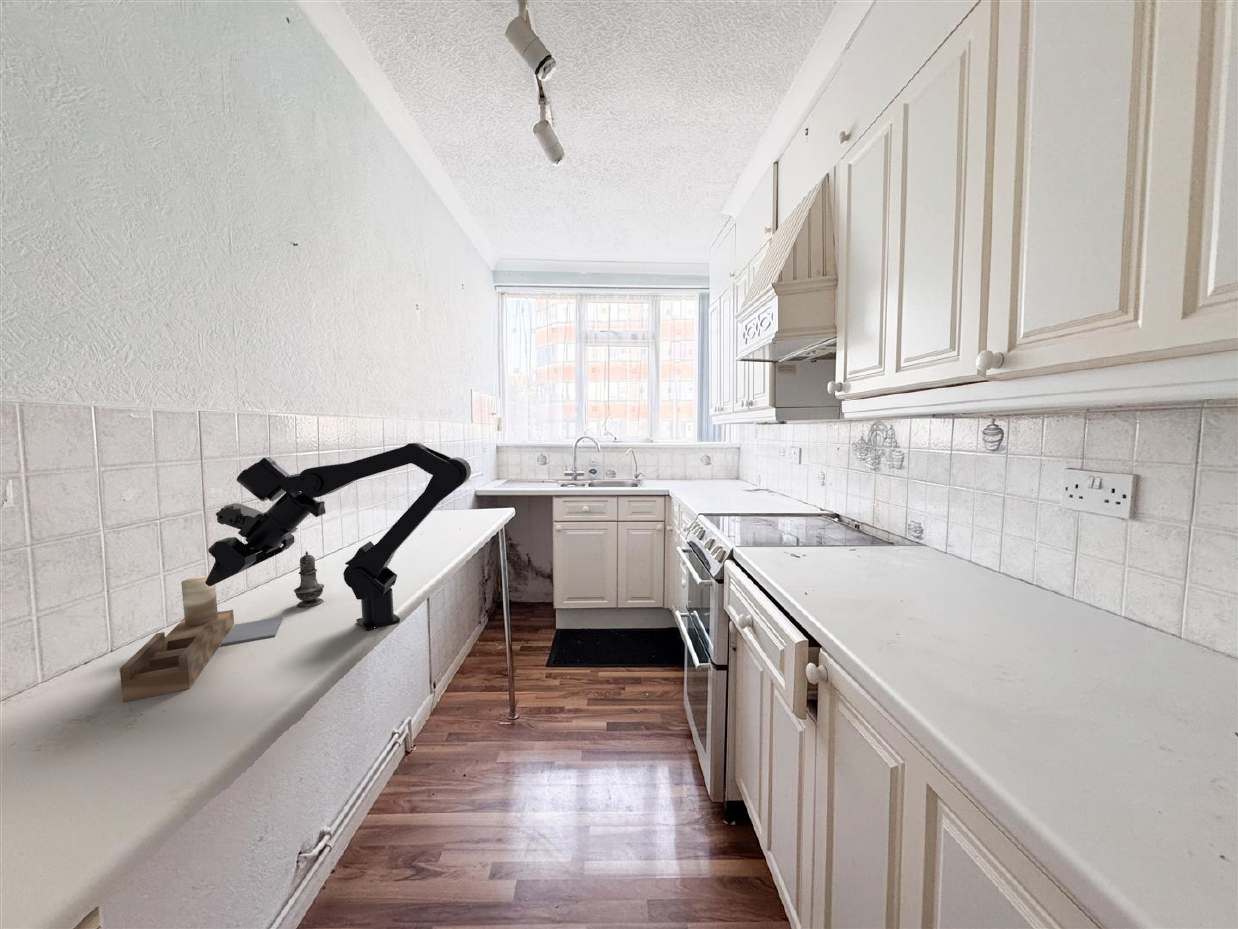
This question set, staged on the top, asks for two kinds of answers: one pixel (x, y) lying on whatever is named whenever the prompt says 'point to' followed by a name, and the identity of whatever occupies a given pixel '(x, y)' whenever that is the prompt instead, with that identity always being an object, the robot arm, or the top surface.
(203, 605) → the birch cylinder
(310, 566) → the salt shaker
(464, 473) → the robot arm
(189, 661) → the wooden track
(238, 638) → the mat
